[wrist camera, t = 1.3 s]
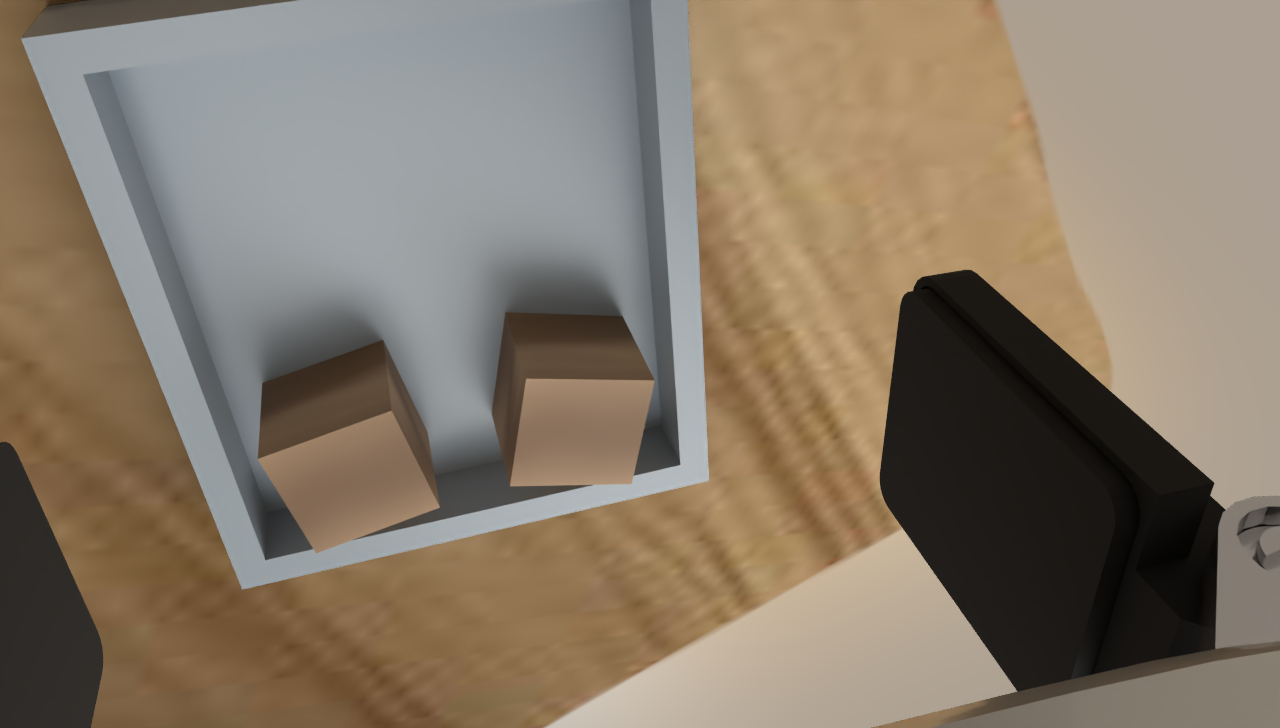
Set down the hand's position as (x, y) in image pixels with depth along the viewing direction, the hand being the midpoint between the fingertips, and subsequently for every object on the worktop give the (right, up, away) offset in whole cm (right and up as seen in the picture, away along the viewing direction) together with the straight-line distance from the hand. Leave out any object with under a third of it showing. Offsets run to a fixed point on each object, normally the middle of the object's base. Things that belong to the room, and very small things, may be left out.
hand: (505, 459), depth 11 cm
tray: (-5, +4, +22) cm, 23 cm away
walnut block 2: (-1, +1, +24) cm, 24 cm away
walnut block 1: (-8, 0, +23) cm, 25 cm away
